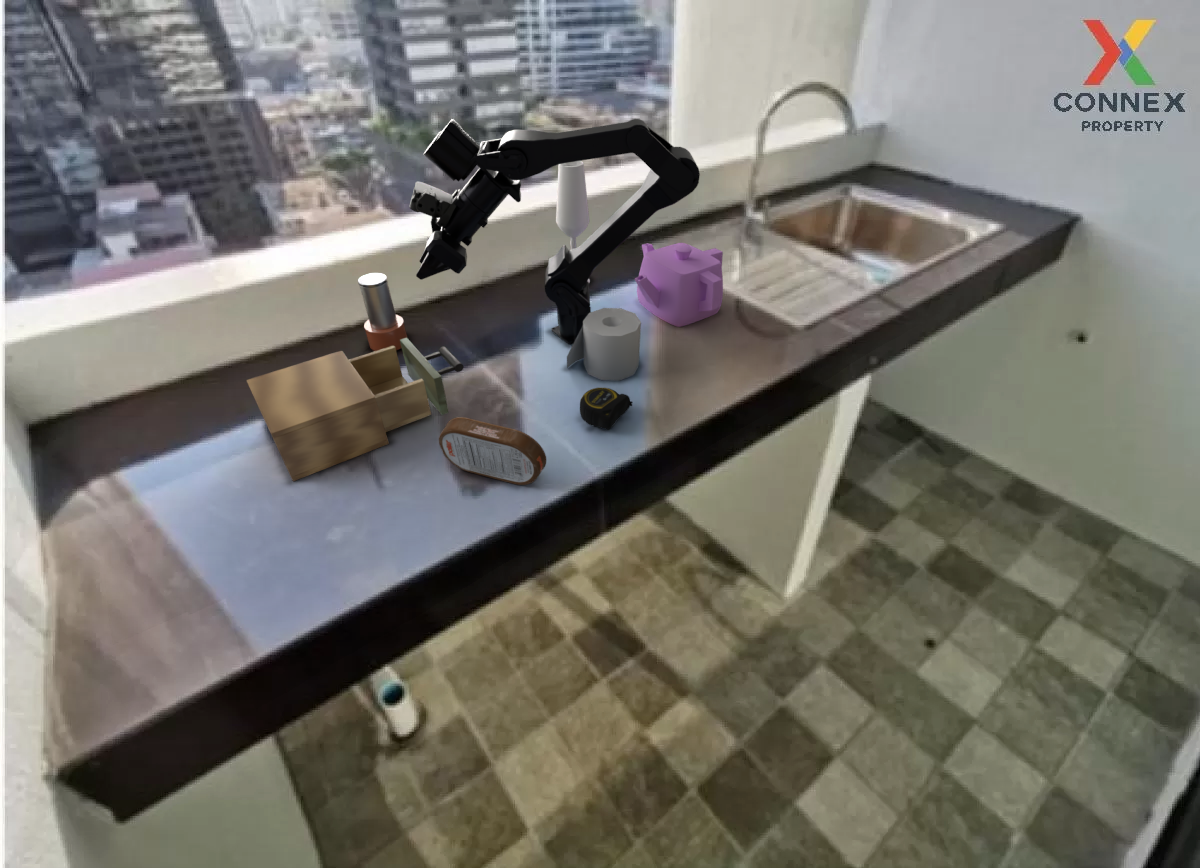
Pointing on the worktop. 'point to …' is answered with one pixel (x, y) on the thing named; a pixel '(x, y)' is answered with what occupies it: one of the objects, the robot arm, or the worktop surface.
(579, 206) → the champagne flute
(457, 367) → the drawer
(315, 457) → the cabinet
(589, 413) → the tape measure
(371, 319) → the cylinder
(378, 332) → the stand
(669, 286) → the teakettle
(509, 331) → the worktop surface
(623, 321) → the toilet tissue
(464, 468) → the tin
